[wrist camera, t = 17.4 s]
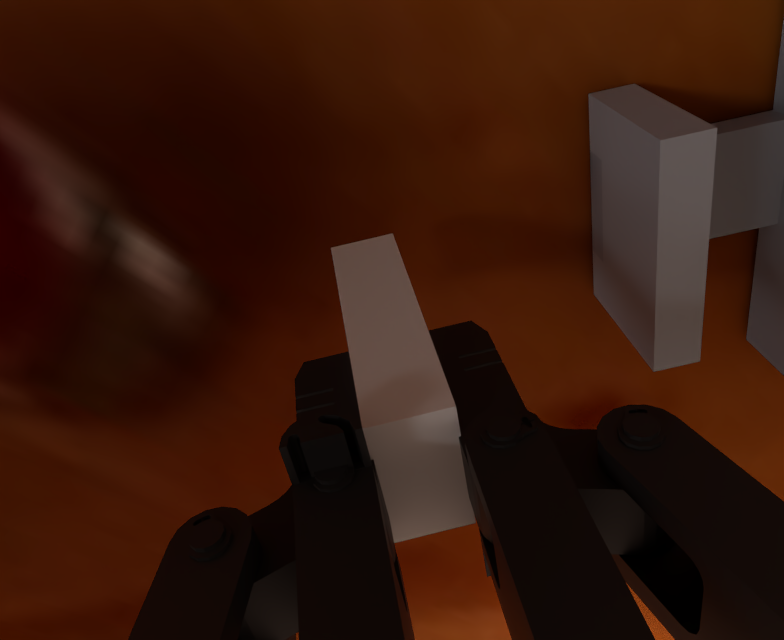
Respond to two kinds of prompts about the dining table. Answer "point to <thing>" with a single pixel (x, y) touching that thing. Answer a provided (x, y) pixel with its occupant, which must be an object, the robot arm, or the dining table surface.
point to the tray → (683, 217)
